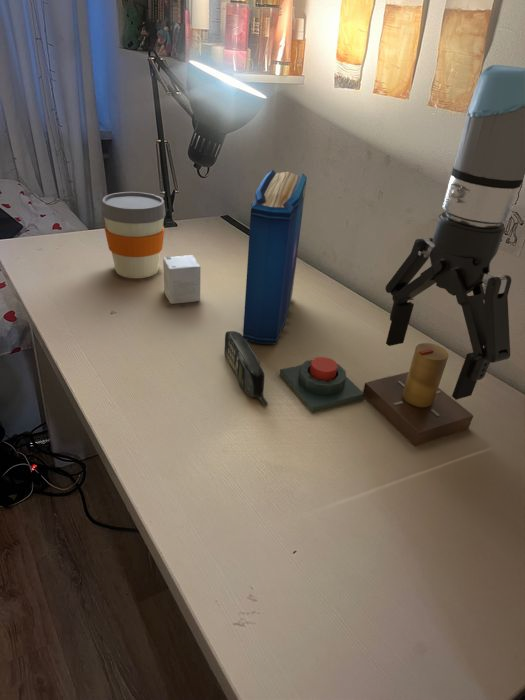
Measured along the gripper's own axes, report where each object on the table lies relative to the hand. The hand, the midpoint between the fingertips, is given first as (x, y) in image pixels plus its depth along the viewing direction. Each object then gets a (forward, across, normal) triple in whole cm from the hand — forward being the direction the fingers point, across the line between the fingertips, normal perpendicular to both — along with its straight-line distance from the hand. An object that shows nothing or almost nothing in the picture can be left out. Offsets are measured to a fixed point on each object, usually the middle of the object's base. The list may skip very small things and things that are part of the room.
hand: (425, 368), depth 70 cm
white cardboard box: (+8, -46, -20) cm, 51 cm away
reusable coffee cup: (+8, -61, -25) cm, 66 cm away
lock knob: (+5, 0, 0) cm, 5 cm away
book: (+8, -32, -8) cm, 34 cm away
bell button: (+5, -10, -10) cm, 15 cm away
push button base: (+8, -10, -10) cm, 16 cm away
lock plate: (+8, 0, 0) cm, 8 cm away
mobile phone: (+8, -16, -20) cm, 27 cm away
